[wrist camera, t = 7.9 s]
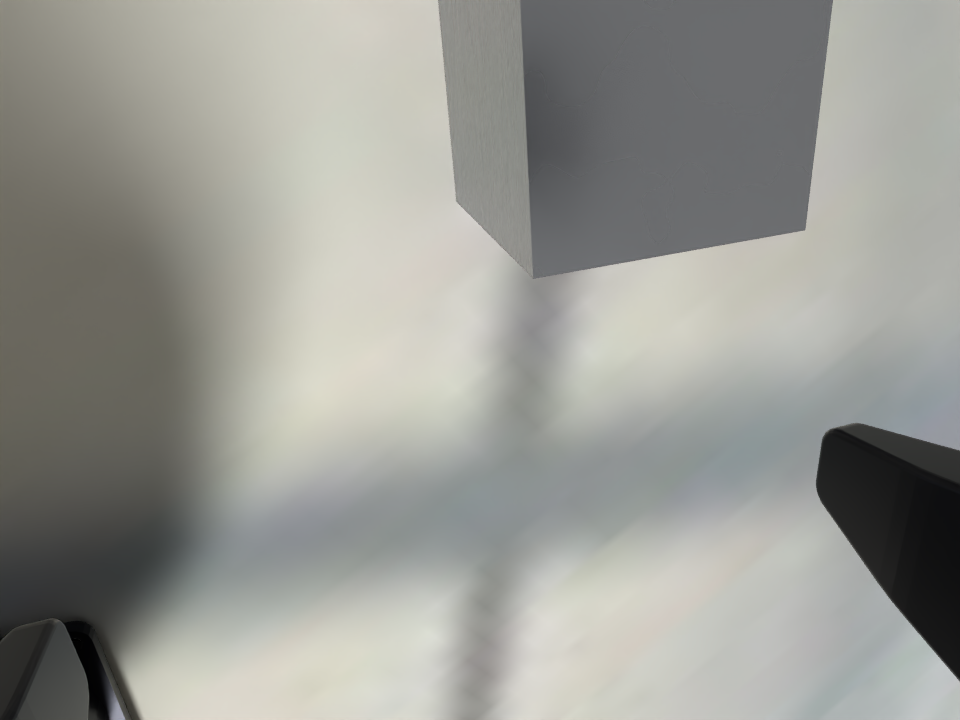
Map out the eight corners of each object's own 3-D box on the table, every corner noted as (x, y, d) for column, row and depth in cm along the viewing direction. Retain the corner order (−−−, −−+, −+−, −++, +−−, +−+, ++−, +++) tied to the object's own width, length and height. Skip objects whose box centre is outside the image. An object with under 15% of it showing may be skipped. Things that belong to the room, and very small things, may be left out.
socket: (666, 168, 22) (805, 229, 16) (455, 200, 20) (533, 278, 15) (677, -131, 18) (853, -172, 13) (427, -115, 17) (513, -154, 12)
